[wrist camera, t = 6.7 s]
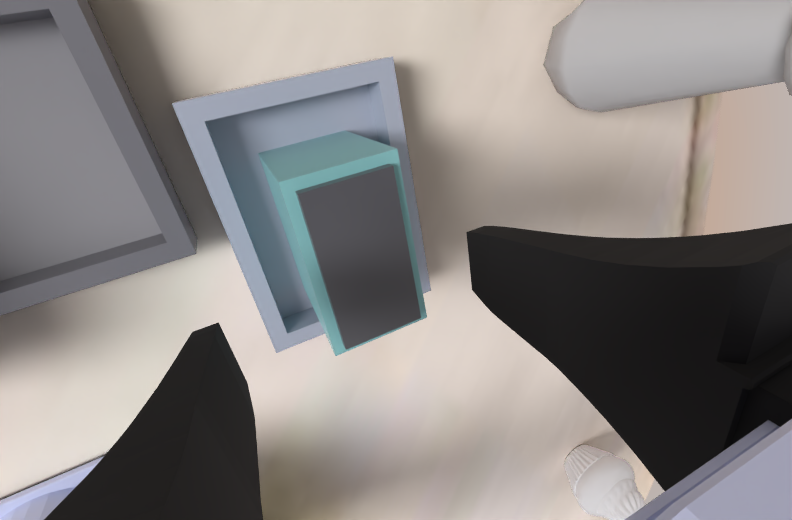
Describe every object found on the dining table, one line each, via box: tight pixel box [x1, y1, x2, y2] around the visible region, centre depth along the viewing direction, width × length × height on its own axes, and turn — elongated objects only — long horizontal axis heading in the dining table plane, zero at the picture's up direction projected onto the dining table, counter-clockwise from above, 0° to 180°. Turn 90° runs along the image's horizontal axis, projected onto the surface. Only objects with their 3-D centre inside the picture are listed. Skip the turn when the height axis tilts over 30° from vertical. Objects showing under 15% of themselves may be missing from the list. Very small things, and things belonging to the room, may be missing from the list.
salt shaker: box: [544, 0, 792, 112], centre depth 17 cm, size 6×6×13 cm
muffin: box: [564, 444, 645, 520], centre depth 37 cm, size 6×6×7 cm
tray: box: [172, 57, 431, 353], centre depth 19 cm, size 12×9×2 cm
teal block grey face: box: [258, 131, 427, 356], centre depth 17 cm, size 4×7×6 cm, turn 11°
